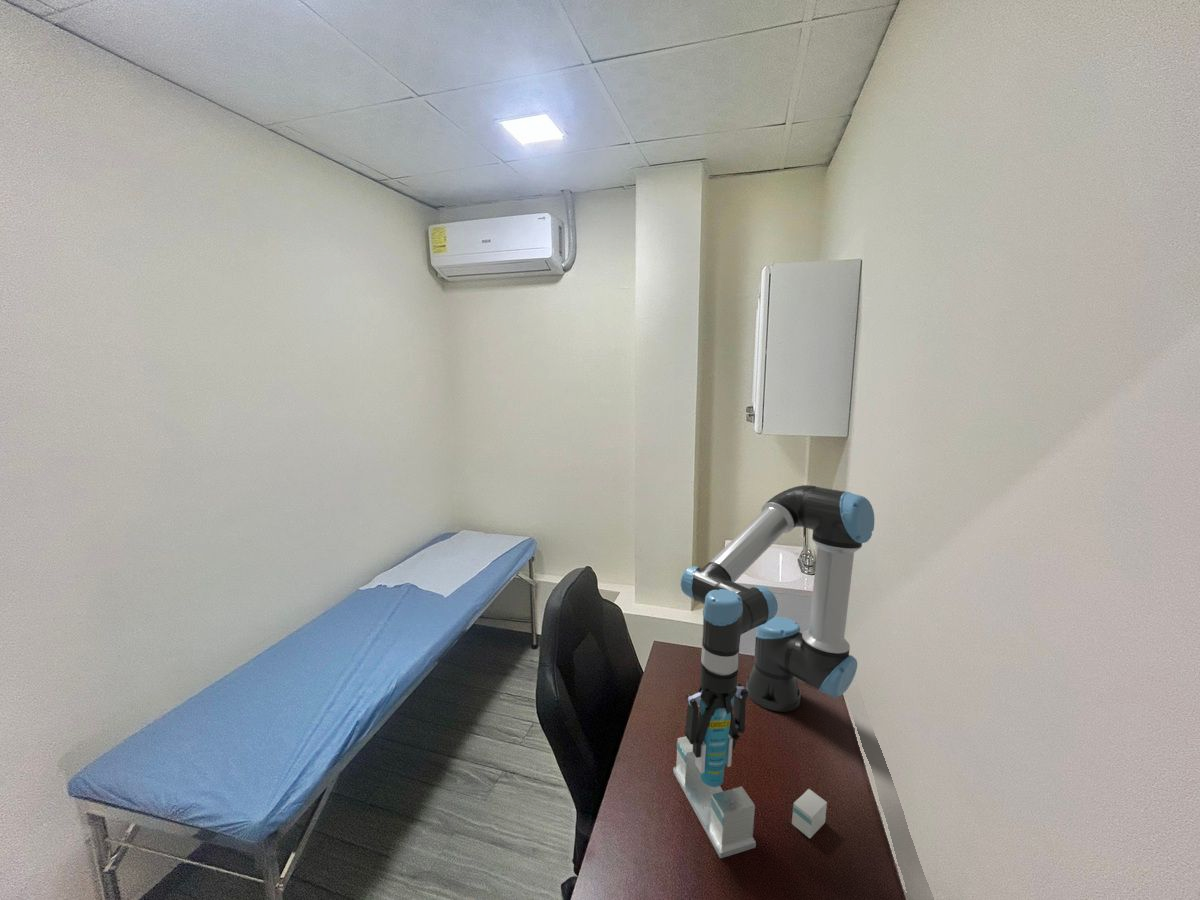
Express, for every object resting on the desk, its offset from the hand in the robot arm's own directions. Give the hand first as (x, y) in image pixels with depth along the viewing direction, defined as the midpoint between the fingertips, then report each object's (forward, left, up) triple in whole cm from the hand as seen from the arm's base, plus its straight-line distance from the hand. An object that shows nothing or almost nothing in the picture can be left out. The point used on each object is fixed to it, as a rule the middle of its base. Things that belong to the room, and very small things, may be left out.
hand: (712, 764), depth 99 cm
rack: (0, 0, -10) cm, 10 cm away
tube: (0, 0, -4) cm, 4 cm away
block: (-18, +9, -10) cm, 23 cm away
